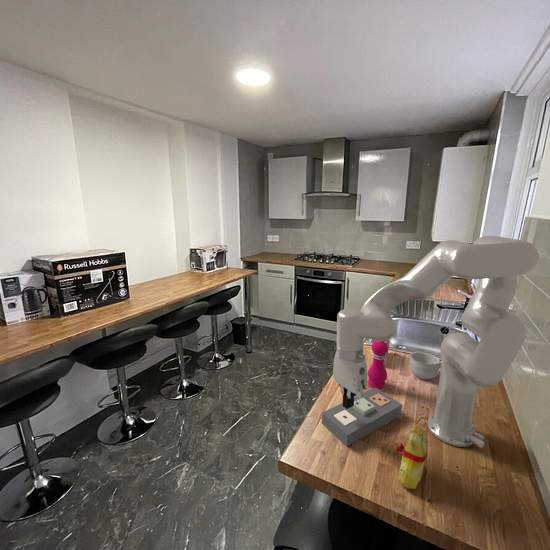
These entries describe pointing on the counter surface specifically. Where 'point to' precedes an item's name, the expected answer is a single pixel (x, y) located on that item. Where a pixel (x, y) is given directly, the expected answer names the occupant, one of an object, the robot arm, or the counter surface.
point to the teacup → (424, 365)
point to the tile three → (379, 400)
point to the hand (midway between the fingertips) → (348, 406)
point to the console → (361, 418)
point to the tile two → (363, 407)
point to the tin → (387, 344)
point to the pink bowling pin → (378, 365)
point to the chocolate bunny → (412, 458)
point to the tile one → (344, 418)
